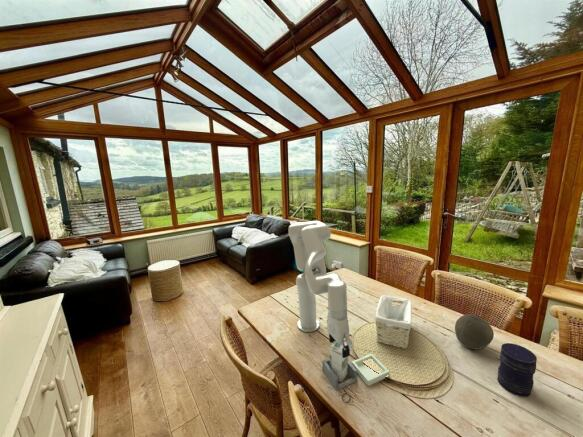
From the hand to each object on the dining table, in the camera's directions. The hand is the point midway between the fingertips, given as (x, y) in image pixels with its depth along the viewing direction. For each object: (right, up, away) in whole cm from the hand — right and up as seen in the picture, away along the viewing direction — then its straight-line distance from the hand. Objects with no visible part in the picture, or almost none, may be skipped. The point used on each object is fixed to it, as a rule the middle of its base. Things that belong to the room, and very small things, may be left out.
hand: (339, 348), depth 97 cm
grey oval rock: (+67, -7, +15) cm, 69 cm away
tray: (+14, -12, +4) cm, 19 cm away
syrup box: (+1, -13, +3) cm, 14 cm away
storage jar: (+67, -11, -6) cm, 68 cm away
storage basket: (+34, -7, +27) cm, 44 cm away
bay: (+1, -13, +3) cm, 13 cm away
